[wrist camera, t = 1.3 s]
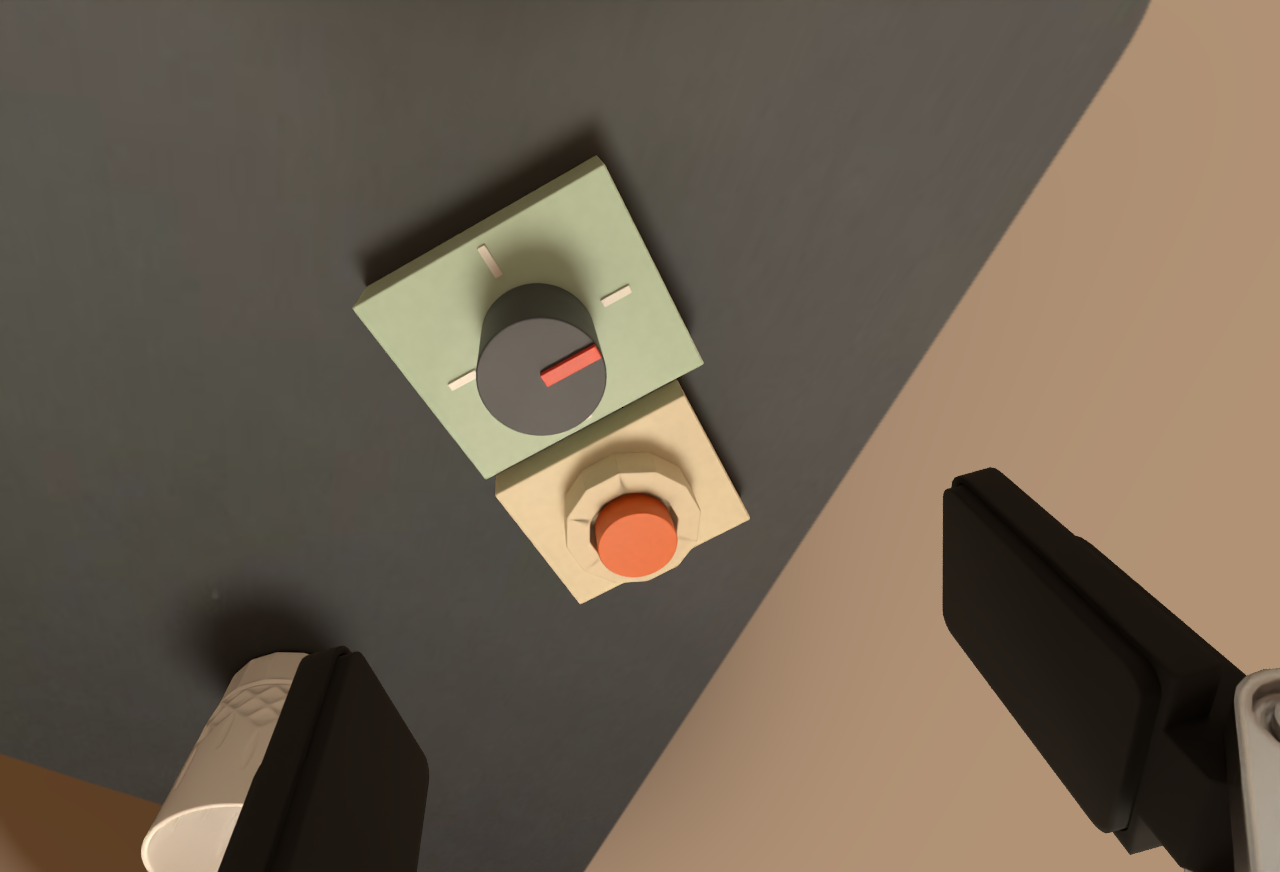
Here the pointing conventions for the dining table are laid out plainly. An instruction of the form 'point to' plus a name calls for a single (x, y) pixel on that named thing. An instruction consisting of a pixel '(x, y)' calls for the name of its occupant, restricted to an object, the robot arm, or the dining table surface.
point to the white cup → (220, 770)
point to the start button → (635, 535)
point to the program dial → (540, 361)
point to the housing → (621, 487)
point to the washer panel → (517, 255)
